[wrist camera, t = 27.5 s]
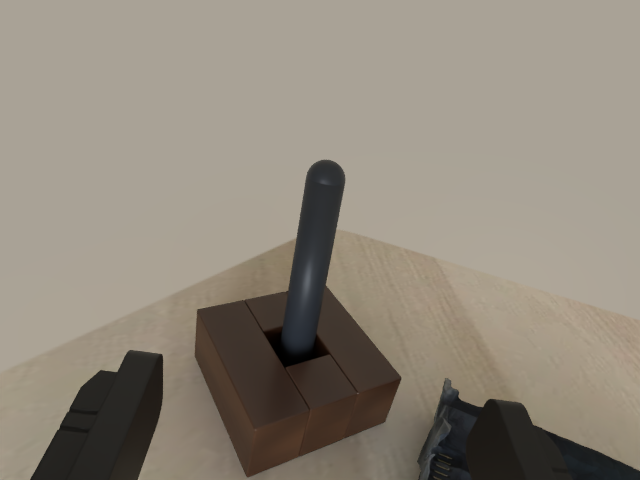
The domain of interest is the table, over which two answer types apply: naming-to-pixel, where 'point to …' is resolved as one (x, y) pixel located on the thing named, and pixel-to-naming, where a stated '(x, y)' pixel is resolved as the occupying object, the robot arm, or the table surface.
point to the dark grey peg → (311, 261)
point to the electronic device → (455, 425)
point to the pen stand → (290, 380)
